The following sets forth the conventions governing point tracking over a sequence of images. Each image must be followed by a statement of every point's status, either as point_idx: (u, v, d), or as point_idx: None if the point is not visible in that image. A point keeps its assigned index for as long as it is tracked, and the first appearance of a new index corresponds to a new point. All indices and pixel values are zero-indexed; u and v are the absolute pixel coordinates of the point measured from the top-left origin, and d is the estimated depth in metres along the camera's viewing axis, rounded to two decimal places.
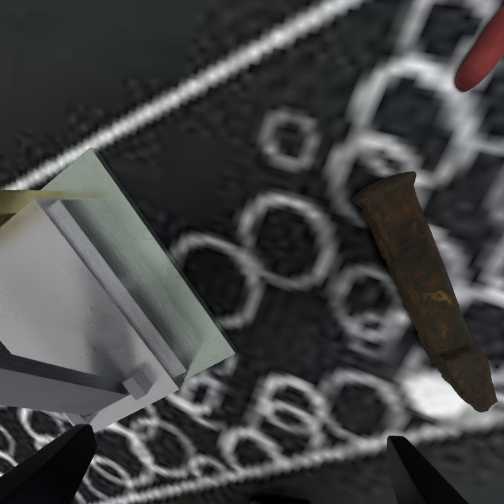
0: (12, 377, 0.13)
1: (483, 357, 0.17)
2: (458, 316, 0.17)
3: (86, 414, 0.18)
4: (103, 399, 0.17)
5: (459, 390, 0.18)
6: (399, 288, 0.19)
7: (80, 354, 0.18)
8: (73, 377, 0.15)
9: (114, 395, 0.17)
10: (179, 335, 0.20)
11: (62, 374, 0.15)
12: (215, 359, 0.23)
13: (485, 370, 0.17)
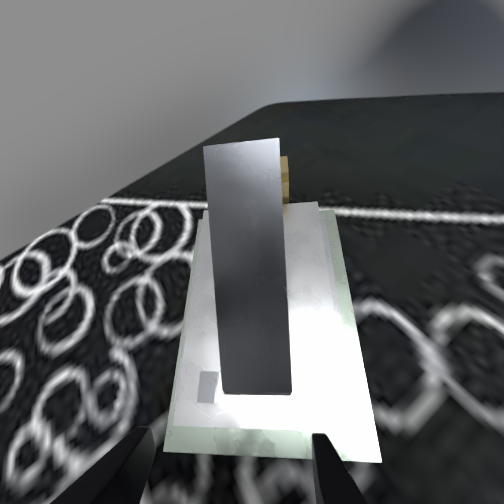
0: (274, 271, 0.13)
1: None
2: None
3: (226, 385, 0.14)
4: (270, 375, 0.14)
5: None
6: None
7: None
8: (288, 319, 0.14)
9: (285, 379, 0.14)
10: None
11: None
12: (349, 453, 0.17)
13: None
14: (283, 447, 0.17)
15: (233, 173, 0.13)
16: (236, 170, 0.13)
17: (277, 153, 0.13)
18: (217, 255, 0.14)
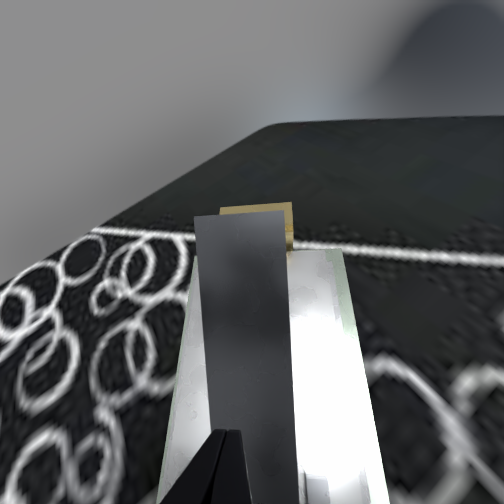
0: (278, 365, 0.11)
1: None
2: None
3: None
4: (272, 485, 0.12)
5: None
6: None
7: None
8: None
9: (291, 490, 0.12)
10: None
11: None
12: None
13: None
14: None
15: (229, 249, 0.11)
16: (233, 246, 0.11)
17: (282, 227, 0.11)
18: (210, 343, 0.12)
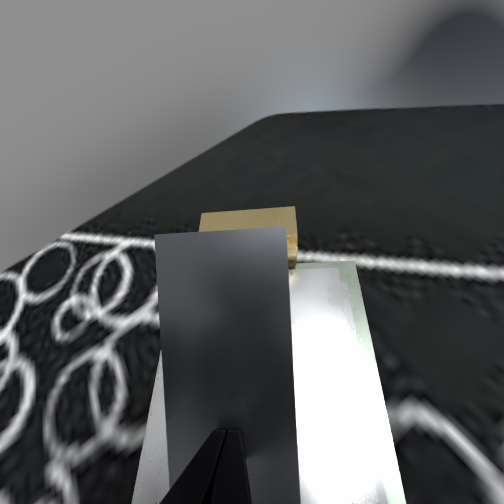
0: (277, 462, 0.07)
1: None
2: None
3: None
4: None
5: None
6: None
7: None
8: None
9: None
10: None
11: None
12: None
13: None
14: None
15: (205, 284, 0.07)
16: (211, 278, 0.07)
17: (283, 252, 0.07)
18: (175, 424, 0.08)
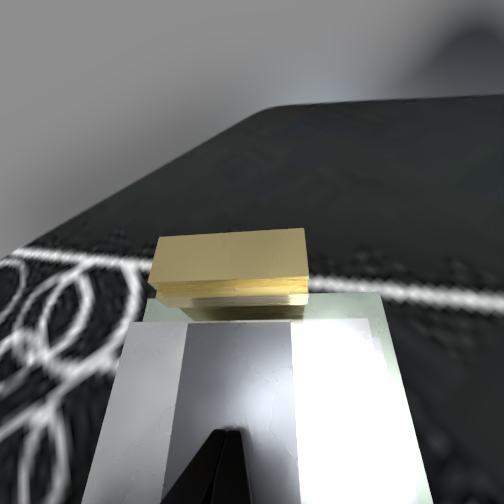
0: None
1: None
2: None
3: None
4: None
5: None
6: None
7: None
8: None
9: None
10: None
11: None
12: None
13: None
14: None
15: (222, 367, 0.09)
16: (227, 362, 0.09)
17: (288, 342, 0.09)
18: None
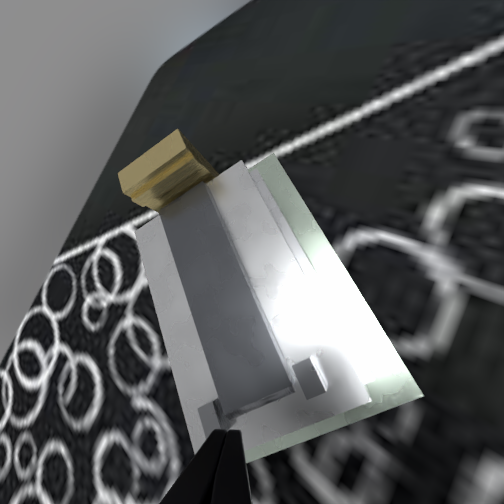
0: (231, 270, 0.15)
1: None
2: None
3: (225, 405, 0.13)
4: (262, 374, 0.13)
5: None
6: None
7: None
8: (260, 309, 0.14)
9: (278, 372, 0.13)
10: (352, 336, 0.15)
11: (256, 298, 0.14)
12: (388, 401, 0.15)
13: None
14: (323, 423, 0.16)
15: (181, 216, 0.17)
16: (182, 213, 0.17)
17: (205, 190, 0.17)
18: (185, 279, 0.16)
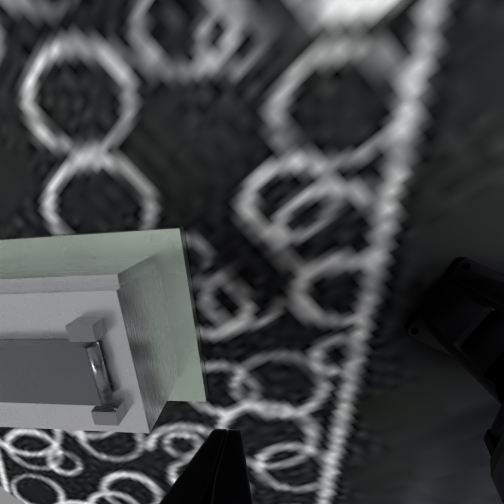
0: None
1: None
2: None
3: (95, 402, 0.15)
4: (75, 365, 0.14)
5: None
6: None
7: None
8: (28, 343, 0.15)
9: (74, 352, 0.14)
10: (104, 266, 0.17)
11: (19, 343, 0.15)
12: (178, 255, 0.18)
13: None
14: (185, 309, 0.19)
15: None
16: None
17: None
18: None
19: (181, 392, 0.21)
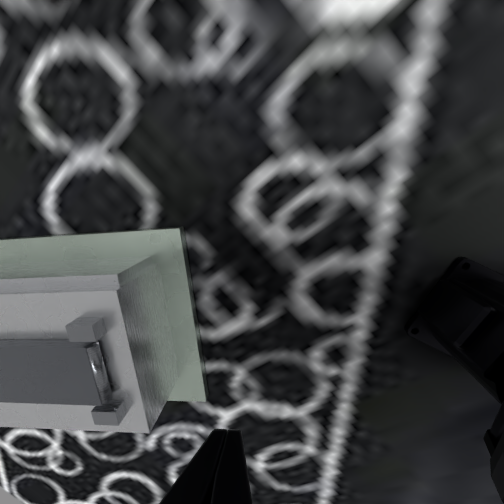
0: None
1: None
2: None
3: (95, 402, 0.15)
4: (75, 365, 0.14)
5: None
6: None
7: None
8: (28, 343, 0.15)
9: (74, 352, 0.14)
10: (104, 266, 0.17)
11: (19, 343, 0.15)
12: (178, 255, 0.18)
13: None
14: (185, 309, 0.19)
15: None
16: None
17: None
18: None
19: (181, 392, 0.21)
